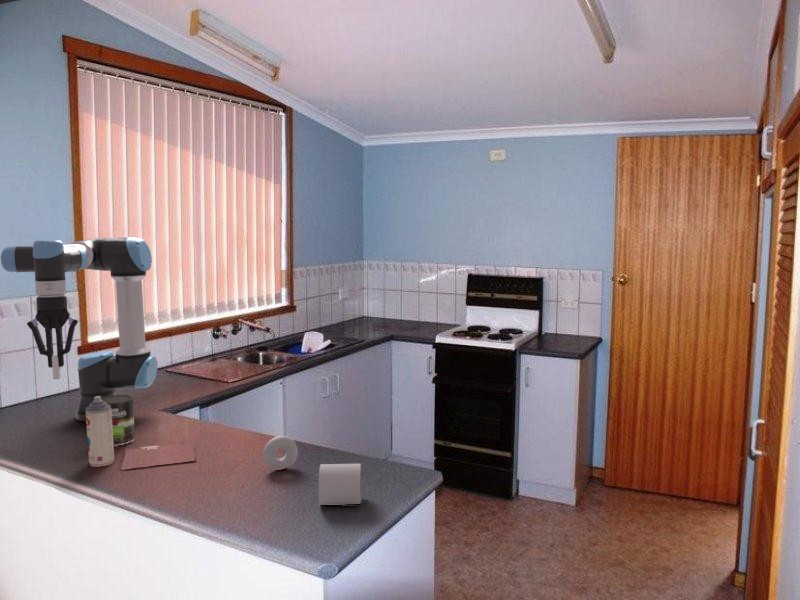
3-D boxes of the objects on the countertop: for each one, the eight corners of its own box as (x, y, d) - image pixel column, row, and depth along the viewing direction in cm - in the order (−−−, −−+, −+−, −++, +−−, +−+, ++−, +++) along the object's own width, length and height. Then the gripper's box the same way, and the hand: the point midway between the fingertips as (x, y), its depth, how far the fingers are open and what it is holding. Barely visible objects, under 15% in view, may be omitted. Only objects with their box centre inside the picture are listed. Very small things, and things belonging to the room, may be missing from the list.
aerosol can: (90, 460, 194) (86, 394, 191) (115, 457, 196) (111, 392, 193) (87, 468, 187) (82, 401, 185) (113, 465, 189) (108, 398, 187)
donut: (296, 465, 189) (295, 431, 188) (299, 469, 186) (298, 435, 185) (262, 471, 185) (260, 437, 184) (265, 475, 182) (264, 440, 181)
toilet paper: (361, 494, 169) (361, 457, 168) (360, 512, 159) (359, 472, 158) (322, 495, 168) (321, 458, 167) (319, 512, 159) (318, 473, 157)
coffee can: (133, 445, 207) (131, 401, 205) (98, 448, 204) (95, 404, 202) (137, 434, 217) (135, 393, 215) (103, 437, 214) (101, 396, 212)
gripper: (22, 297, 177) (28, 383, 179) (75, 296, 181) (80, 379, 183) (28, 295, 184) (33, 377, 186) (79, 293, 188) (84, 373, 191)
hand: (57, 378), depth 185 cm, fingers closed
